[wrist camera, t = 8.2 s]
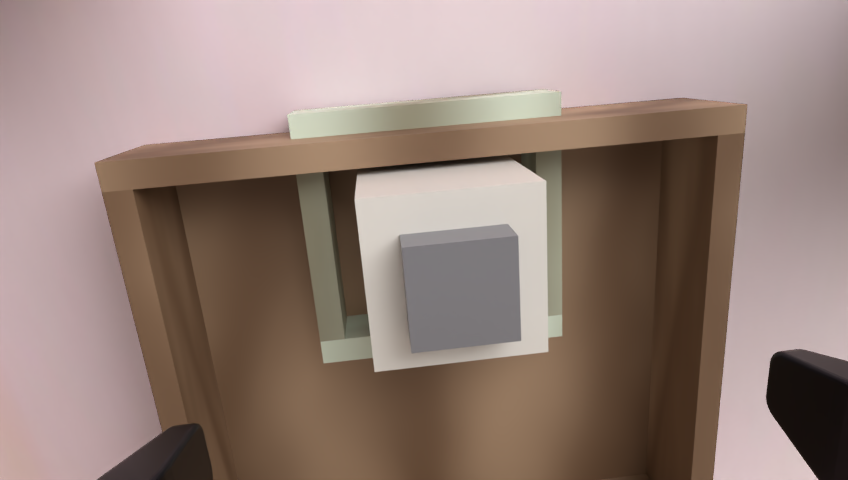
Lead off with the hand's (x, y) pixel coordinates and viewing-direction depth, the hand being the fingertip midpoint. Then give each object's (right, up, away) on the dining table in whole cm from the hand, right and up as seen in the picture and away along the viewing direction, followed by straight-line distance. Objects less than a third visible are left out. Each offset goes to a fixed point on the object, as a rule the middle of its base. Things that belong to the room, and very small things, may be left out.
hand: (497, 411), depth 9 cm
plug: (-1, +3, +11) cm, 11 cm away
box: (-1, -1, +12) cm, 12 cm away
